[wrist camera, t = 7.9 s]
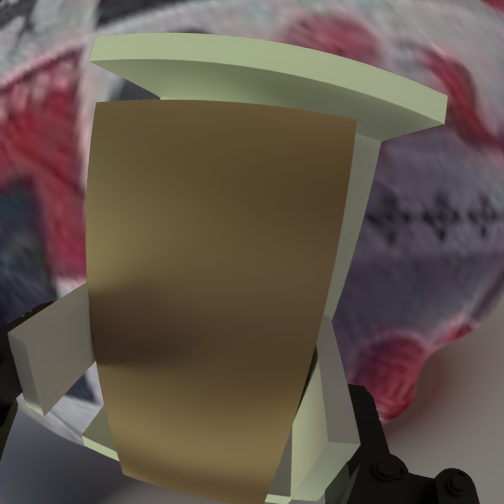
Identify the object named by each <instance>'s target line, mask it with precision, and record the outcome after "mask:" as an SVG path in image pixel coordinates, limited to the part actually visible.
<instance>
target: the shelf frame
mask: <svg viewBox="0 0 504 504" xmlns="http://www.w3.org/2000/svg"><path fill="white" fill-rule="evenodd" d="M89 61H90V62H92V63H94V64H96V65H98V66H100V67H102V68H104V69H106V70H109V71H111V72H113V73H115V74H117V75H119V76H121V77H123V78H125V79H127V80H129V81H131V82H132V83H134V84H136V85H138V86H140V87H142V88H144V89H146V90H148V91H150V92H152V93H153V94H155V95H157V96H159V97H161V98H160V100H162V99H174V100H210V101H228V102H241V103H252V104H262V105H271V106H280V107H287V108H295V109H302V110H308V111H314V112H320V113H326V114H331V115H337V116H342V117H347V118H352V119H356V120H357V125H356V133H355V142H354V150H353V158H352V165H351V172H350V179H349V186H348V192H347V198H346V205H345V211H344V216H343V222H342V228H341V233H340V239H339V244H338V249H337V254H336V259H335V264H334V269H333V274H332V278H331V283H330V287H329V292H328V296H327V301H326V305H325V309H324V314H323V315H326V316H330V319H331V322H332V319H333V316H334V313H335V311H336V308H337V305H338V302H339V299H340V296H341V293H342V290H343V286H344V283H345V280H346V277H347V274H348V271H349V267H350V264H351V261H352V257H353V254H354V251H355V247H356V244H357V240H358V237H359V233H360V229H361V226H362V222H363V218H364V215H365V211H366V207H367V203H368V199H369V195H370V191H371V187H372V182H373V178H374V174H375V169H376V165H377V160H378V155H379V151H380V146H381V142H383V141H386V140H389V139H393V138H396V137H399V136H403V135H406V134H410V133H413V132H417V131H420V130H424V129H428V128H431V127H435V126H439V125H442V124H444V123H445V115H446V107H447V98H448V96H446V95H444V94H442V93H440V92H438V91H435V90H433V89H431V88H429V87H426V86H424V85H422V84H419V83H417V82H414V81H412V80H409V79H407V78H404V77H402V76H399V75H397V74H394V73H391V72H388V71H385V70H383V69H380V68H377V67H374V66H371V65H368V64H365V63H361V62H358V61H355V60H351V59H348V58H344V57H341V56H337V55H333V54H329V53H325V52H321V51H317V50H313V49H308V48H304V47H299V46H294V45H289V44H283V43H278V42H272V41H265V40H259V39H251V38H243V37H234V36H224V35H211V34H193V33H142V34H124V35H112V36H102V37H97V38H96V41H95V44H94V47H93V50H92V53H91V56H90V59H89ZM82 439H83V442H84V445H85V446H87V447H89V448H91V449H93V450H95V451H97V452H99V453H102V454H104V455H106V456H108V457H111V458H113V459H115V460H118V461H119V458H118V455H117V452H116V448H115V445H114V441H113V438H112V434H111V430H110V426H109V422H108V418H107V414H106V410H105V405H104V406H103V407H102V408H101V410H100V411H99V413H98V414H97V415H96V417H95V418H94V419H93V421H92V422H91V423H90V425H89V426H88V428H87V429H86V430H85V432H84V433H83V435H82ZM291 468H292V427H291V430H290V433H289V436H288V439H287V442H286V445H285V448H284V451H283V454H282V457H281V460H280V462H279V465H278V468H277V471H276V473H275V476H274V479H273V482H272V484H271V487H270V489H269V492H268V494H267V497H266V500H265V502H272V503H279V504H288V503H289V502H290V501H291V499H290V495H291Z"/></svg>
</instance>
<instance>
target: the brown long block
mask: <svg viewBox="0 0 504 504" xmlns="http://www.w3.org/2000/svg"><path fill="white" fill-rule="evenodd" d="M356 125H357V120H356V119H352V118H347V117H342V116H337V115H331V114H326V113H320V112H314V111H308V110H302V109H295V108H287V107H280V106H271V105H262V104H252V103H241V102H228V101H210V100H174V99H162V100H126V101H110V102H97V103H96V108H95V114H94V121H93V128H92V136H91V145H90V154H89V165H88V179H87V197H86V267H87V285H88V298H89V310H90V320H91V329H92V337H93V344H94V351H95V358H96V364H97V370H98V375H99V381H100V386H101V391H102V396H103V401H104V405H105V410H106V414H107V418H108V422H109V426H110V430H111V434H112V438H113V441H114V445H115V448H116V452H117V455H118V458H119V462H120V465H121V468H122V471H123V474H124V475H128V476H130V477H133V478H135V479H138V480H141V481H144V482H147V483H150V484H153V485H156V486H160V487H163V488H166V489H170V490H174V491H177V492H181V493H185V494H189V495H193V496H197V497H202V498H206V499H210V500H215V501H221V502H226V503H231V504H264V502H265V500H266V497H267V494H268V492H269V489H270V487H271V484H272V482H273V479H274V476H275V473H276V471H277V468H278V465H279V462H280V460H281V457H282V454H283V451H284V448H285V445H286V442H287V439H288V436H289V433H290V430H291V427H292V424H293V421H294V418H295V415H296V412H297V409H298V405H299V402H300V399H301V395H302V392H303V389H304V385H305V382H306V378H307V375H308V371H309V368H310V364H311V360H312V357H313V353H314V349H315V346H316V342H317V338H318V334H319V330H320V326H321V322H322V318H323V314H324V309H325V305H326V301H327V296H328V292H329V287H330V283H331V278H332V274H333V269H334V264H335V259H336V254H337V249H338V244H339V239H340V233H341V228H342V222H343V216H344V211H345V205H346V198H347V192H348V186H349V179H350V172H351V165H352V158H353V150H354V142H355V133H356Z"/></svg>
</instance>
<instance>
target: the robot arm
mask: <svg viewBox="0 0 504 504" xmlns="http://www.w3.org/2000/svg"><path fill="white" fill-rule="evenodd" d="M95 361H96V358H95V351H94V344H93V337H92V329H91V320H90V310H89V298H88V285H87V283H85V284H83V285H82V286H80V287H78V288H77V289H75V290H73V291H72V292H70V293H69V294H67V295H65V296H64V297H62V298H61V299H59V300H57V301H56V302H53V301H51V302H47V303H43V304H40V305H38V306H36V307H35V308H33V309H32V310H30V312H27V313H25V314H24V315H22V317H21V316H20V317H19V318H17V319H16V320H14V321H13V322H11V323H9V324H8V325H6V326H5V327H3V328H2V329H0V460H1V457H2V453H3V450H4V447H5V444H6V440H7V438H8V435H9V432H10V429H11V426H12V423H13V421H14V418H15V415H16V413H17V409H18V403H17V400H16V398H17V397H18V396H19V395H20V394H21V393H23V396H24V399H25V402H26V405H27V406H28V407H30V408H31V409H33V410H34V411H36V412H38V413H39V414H41V415H43V416H45V415H46V414H47V413H48V412H49V411H50V409H51V408H52V407H53V406H54V405H55V404H56V403H57V402H58V401H59V400H60V398H61V397H62V396H63V395H64V394H65V393H66V392H67V391H68V390H69V389H70V388H71V387H72V385H73V384H74V383H75V382H76V381H77V380H78V379H79V378H80V377H81V376H82V375H83V374H84V373H85V372H86V371H87V369H88V368H89V367H90V366H91V365H92V364H93V363H94V362H95ZM324 493H325V501H326V504H480V503H479V499H478V496H477V492H476V488H475V485H474V483H473V481H472V479H471V477H470V476H469V475H468V474H467V473H465V472H463V471H461V470H459V469H455V468H449V469H445V470H443V471H442V472H440V473H439V474H438V475H437V476H436V477H435V478H434V479H433V478H428V477H423V476H419V475H415V474H412V473H409V472H408V469H407V467H406V465H405V464H404V462H403V461H401V460H400V459H399V458H398V457H396V456H394V455H392V454H390V452H389V449H388V445H387V442H386V438H385V435H384V432H383V428H382V425H381V422H380V420H379V415H378V412H377V410H376V405H375V402H374V399H373V396H372V395H371V394H370V393H369V392H368V390H367V389H366V388H365V387H364V386H359V385H352V384H347V381H346V377H345V373H344V369H343V365H342V361H341V357H340V353H339V349H338V345H337V341H336V337H335V334H334V330H333V326H332V322H331V319H330V316H326V315H323V318H322V322H321V326H320V330H319V334H318V338H317V342H316V346H315V349H314V353H313V357H312V360H311V364H310V368H309V371H308V375H307V378H306V382H305V385H304V389H303V392H302V395H301V399H300V402H299V405H298V409H297V412H296V415H295V418H294V421H293V424H292V468H291V495H290V499H295V500H308V501H318V500H319V499H320V497H321V496H322V495H323V494H324Z"/></svg>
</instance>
